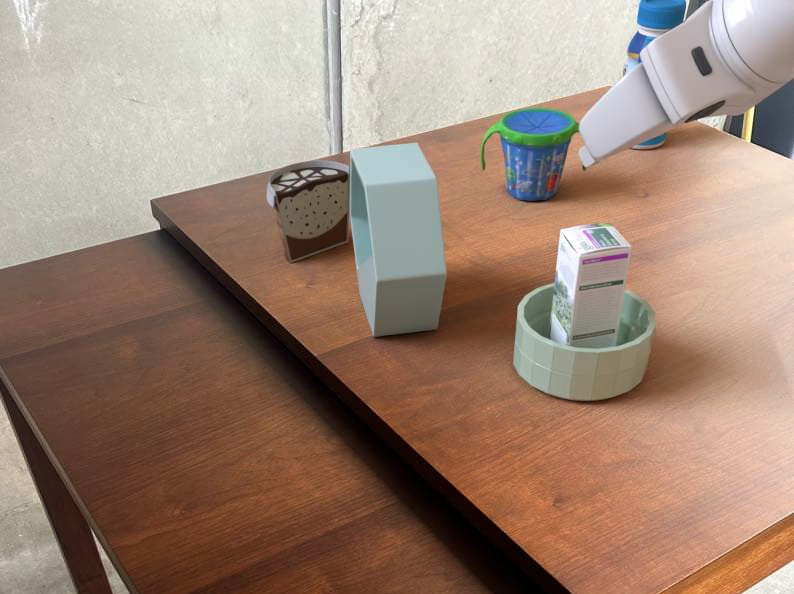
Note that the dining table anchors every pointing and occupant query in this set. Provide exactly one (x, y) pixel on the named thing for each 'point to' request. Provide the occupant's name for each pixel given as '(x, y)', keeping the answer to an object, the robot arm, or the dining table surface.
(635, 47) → the beverage bottle
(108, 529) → the dining table surface
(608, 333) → the syrup box
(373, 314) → the planter
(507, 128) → the snack cup
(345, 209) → the food container
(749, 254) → the dining table surface
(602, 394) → the bowl
